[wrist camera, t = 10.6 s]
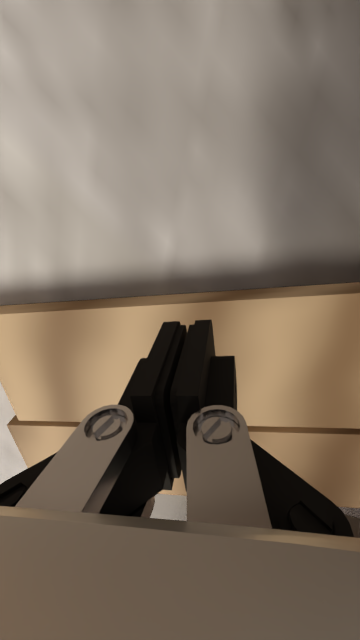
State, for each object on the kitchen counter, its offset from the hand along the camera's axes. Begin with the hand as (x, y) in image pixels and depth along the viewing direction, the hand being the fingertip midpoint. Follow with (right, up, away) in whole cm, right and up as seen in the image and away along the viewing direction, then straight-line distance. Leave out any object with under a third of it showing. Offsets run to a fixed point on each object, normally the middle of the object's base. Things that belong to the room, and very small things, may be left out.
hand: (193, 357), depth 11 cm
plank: (+1, 0, +5) cm, 5 cm away
